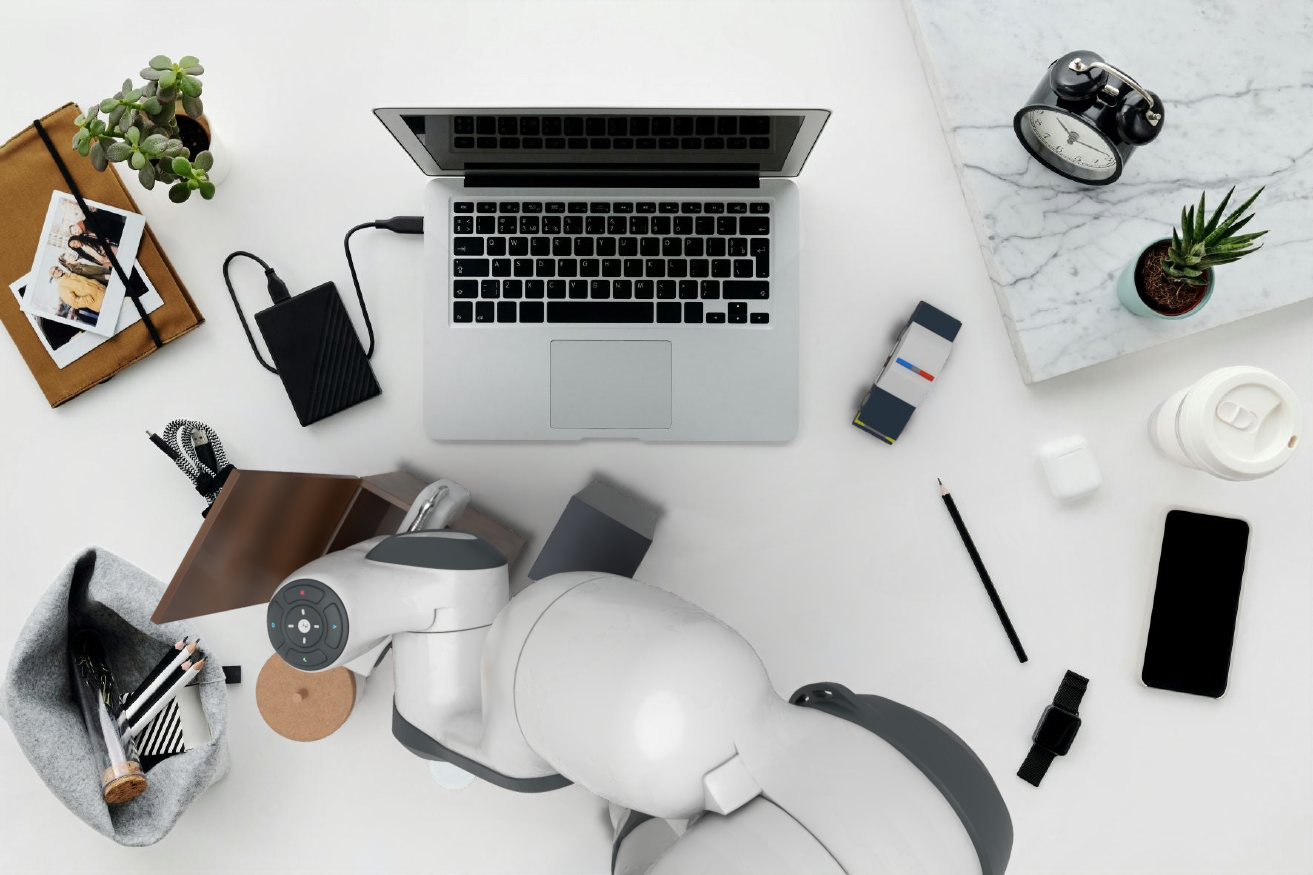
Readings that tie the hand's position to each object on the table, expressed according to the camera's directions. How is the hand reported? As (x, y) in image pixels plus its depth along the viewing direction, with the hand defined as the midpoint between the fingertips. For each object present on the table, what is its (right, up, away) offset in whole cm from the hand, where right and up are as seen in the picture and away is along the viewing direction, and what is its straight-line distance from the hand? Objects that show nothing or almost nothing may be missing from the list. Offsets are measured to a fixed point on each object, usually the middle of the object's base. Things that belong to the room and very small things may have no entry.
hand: (427, 559), depth 87 cm
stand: (+20, +3, +4) cm, 21 cm away
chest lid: (-9, +4, -18) cm, 20 cm away
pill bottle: (+5, -20, +5) cm, 21 cm away
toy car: (+54, +21, +4) cm, 58 cm away
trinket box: (-12, -14, +5) cm, 19 cm away
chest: (0, 0, +4) cm, 4 cm away
